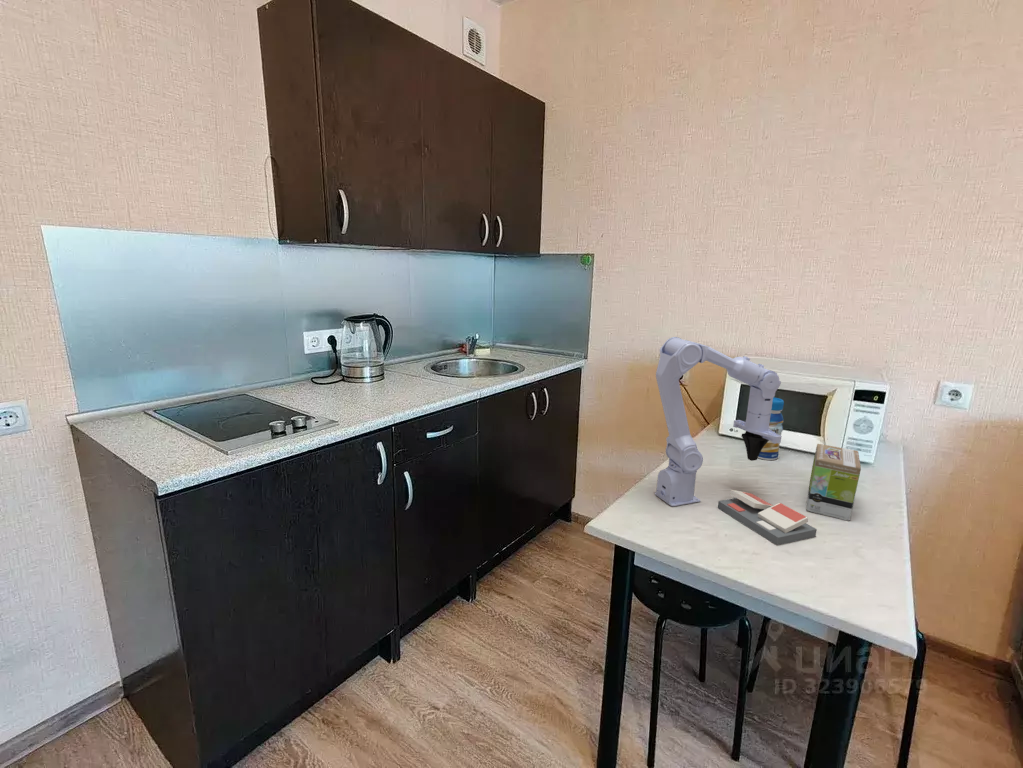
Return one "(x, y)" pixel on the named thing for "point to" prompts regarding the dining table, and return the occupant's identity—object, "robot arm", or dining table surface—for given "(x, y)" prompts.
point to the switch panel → (763, 523)
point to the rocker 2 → (783, 517)
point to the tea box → (833, 481)
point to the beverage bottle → (775, 425)
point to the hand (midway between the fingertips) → (752, 459)
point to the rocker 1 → (751, 499)
